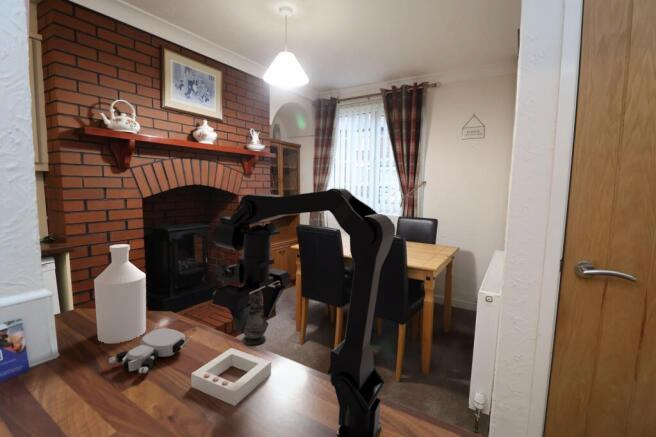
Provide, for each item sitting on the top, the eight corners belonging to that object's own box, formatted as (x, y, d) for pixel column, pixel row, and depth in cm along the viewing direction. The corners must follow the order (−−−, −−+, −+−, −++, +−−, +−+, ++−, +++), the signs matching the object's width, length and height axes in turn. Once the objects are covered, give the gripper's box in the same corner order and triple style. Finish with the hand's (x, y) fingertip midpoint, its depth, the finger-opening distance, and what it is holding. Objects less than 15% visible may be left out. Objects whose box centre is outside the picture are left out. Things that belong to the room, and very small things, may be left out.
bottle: (91, 332, 88) (87, 244, 85) (139, 320, 97) (136, 240, 94) (102, 348, 80) (98, 252, 77) (153, 333, 89) (151, 246, 86)
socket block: (270, 373, 73) (271, 360, 73) (234, 405, 62) (234, 390, 62) (231, 359, 78) (231, 347, 78) (191, 386, 67) (191, 372, 67)
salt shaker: (241, 349, 65) (243, 292, 63) (238, 335, 70) (239, 283, 69) (270, 344, 67) (272, 290, 65) (264, 332, 72) (266, 281, 71)
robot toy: (145, 386, 69) (195, 348, 82) (143, 367, 68) (194, 332, 82) (105, 372, 73) (159, 338, 87) (103, 354, 72) (158, 323, 86)
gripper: (254, 241, 78) (252, 302, 80) (192, 256, 61) (191, 332, 63) (293, 248, 73) (289, 312, 75) (236, 266, 56) (234, 348, 58)
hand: (254, 324), depth 68 cm, fingers closed on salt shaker, 8 cm apart
